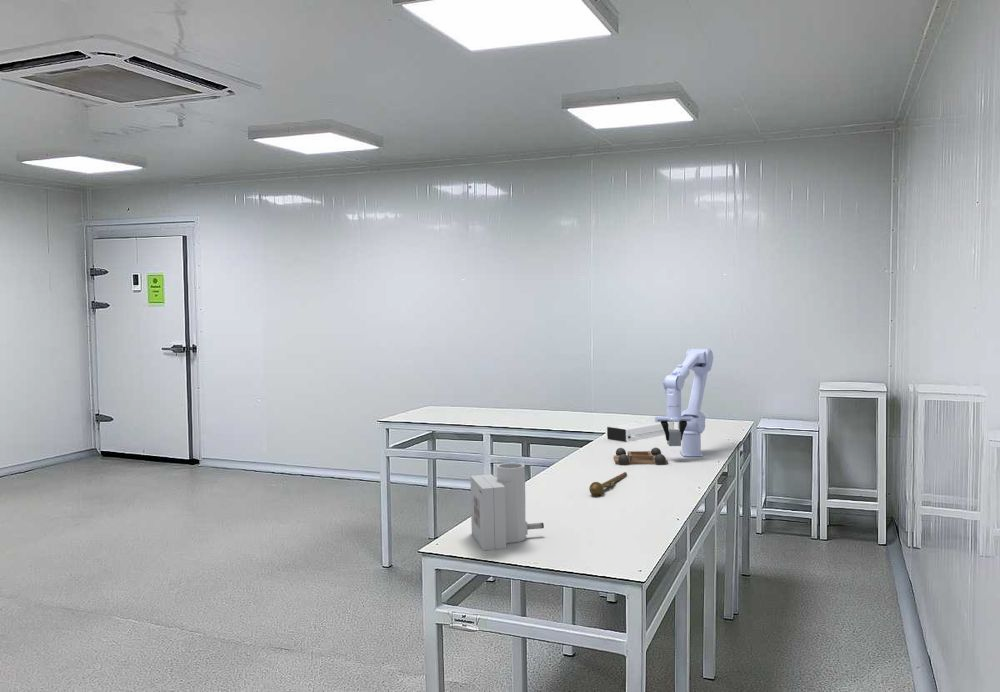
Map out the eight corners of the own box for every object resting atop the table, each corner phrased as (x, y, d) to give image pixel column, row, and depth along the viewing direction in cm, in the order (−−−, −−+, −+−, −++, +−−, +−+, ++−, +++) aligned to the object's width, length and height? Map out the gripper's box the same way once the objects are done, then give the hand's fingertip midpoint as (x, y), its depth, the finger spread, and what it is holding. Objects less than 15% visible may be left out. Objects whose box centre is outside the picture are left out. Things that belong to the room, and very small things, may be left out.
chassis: (613, 457, 331) (613, 447, 331) (663, 457, 330) (663, 447, 329) (616, 465, 316) (615, 455, 316) (668, 464, 314) (668, 454, 314)
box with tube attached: (470, 533, 227) (469, 462, 226) (535, 528, 232) (533, 458, 230) (482, 550, 212) (481, 474, 210) (551, 544, 216) (550, 469, 215)
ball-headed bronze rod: (618, 479, 298) (630, 481, 296) (585, 496, 267) (599, 499, 265) (619, 466, 298) (631, 469, 296) (587, 482, 266) (600, 484, 264)
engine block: (667, 443, 323) (667, 429, 323) (678, 443, 323) (678, 429, 323) (669, 446, 317) (669, 432, 317) (681, 446, 317) (681, 432, 317)
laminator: (655, 431, 396) (655, 418, 396) (675, 434, 387) (675, 421, 386) (607, 440, 375) (607, 426, 374) (627, 443, 365) (627, 429, 365)
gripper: (656, 407, 316) (656, 442, 317) (694, 406, 315) (694, 441, 316) (653, 404, 323) (654, 439, 324) (691, 404, 322) (691, 438, 323)
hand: (673, 440), depth 320 cm, fingers closed on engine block, 4 cm apart
